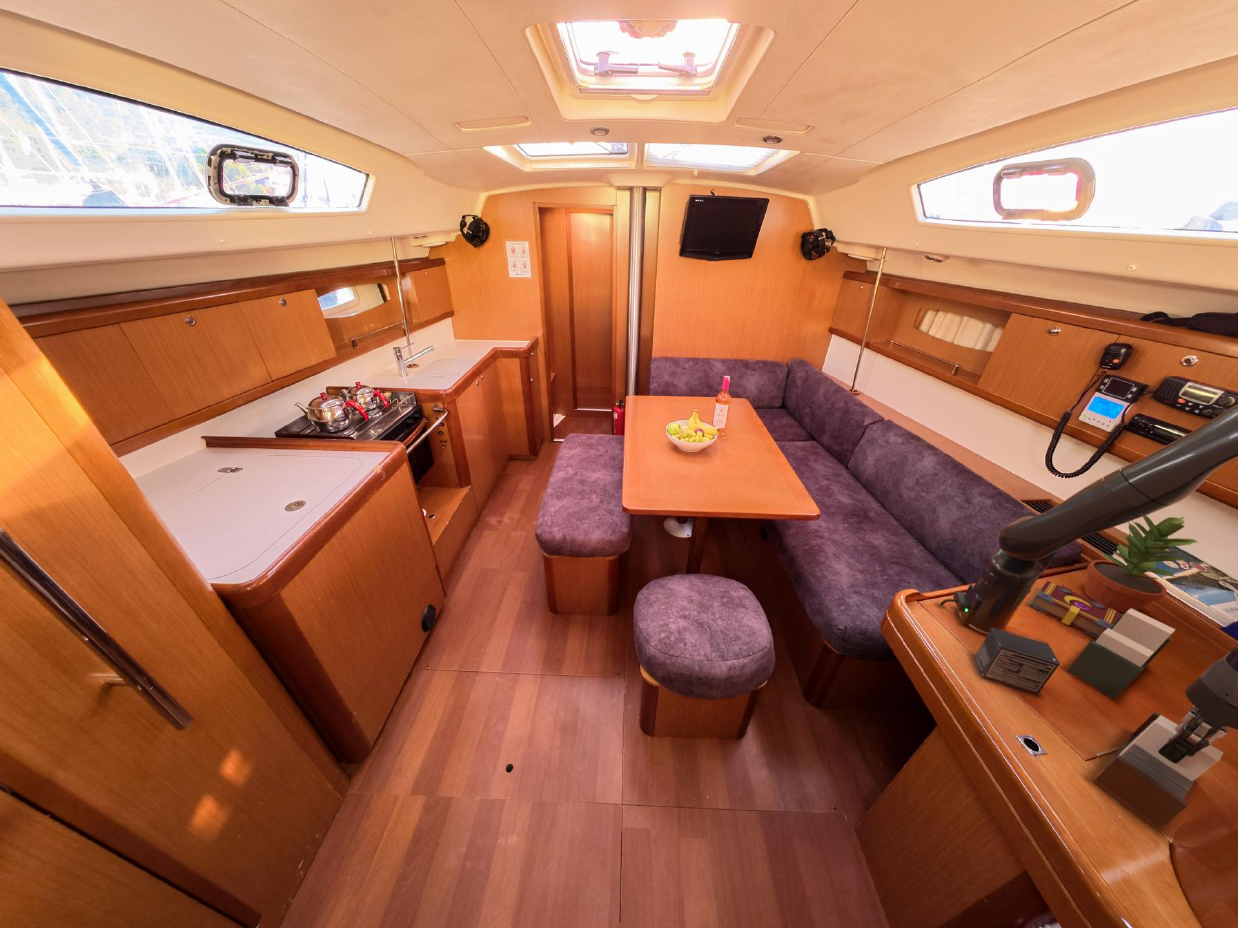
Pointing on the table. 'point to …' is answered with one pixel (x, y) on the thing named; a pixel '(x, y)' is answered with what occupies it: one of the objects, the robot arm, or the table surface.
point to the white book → (1159, 737)
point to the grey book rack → (1144, 782)
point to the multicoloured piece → (1121, 652)
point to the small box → (1016, 661)
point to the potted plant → (1135, 567)
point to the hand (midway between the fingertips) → (1170, 752)
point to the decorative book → (1075, 609)
